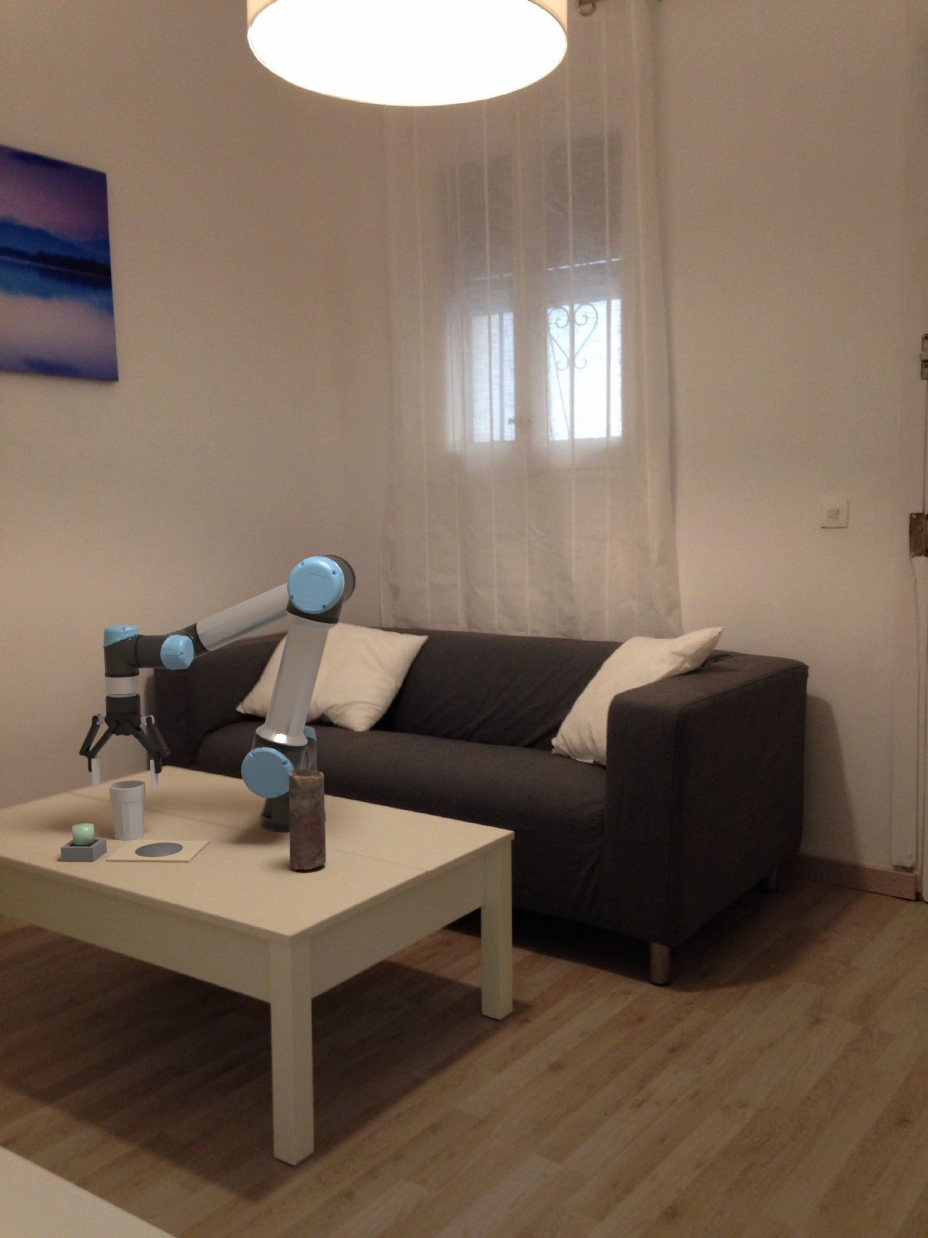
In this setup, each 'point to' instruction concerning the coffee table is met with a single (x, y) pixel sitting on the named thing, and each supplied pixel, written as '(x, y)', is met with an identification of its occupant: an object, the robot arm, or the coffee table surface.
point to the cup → (128, 809)
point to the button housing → (83, 851)
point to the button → (83, 834)
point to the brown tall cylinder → (307, 819)
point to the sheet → (158, 851)
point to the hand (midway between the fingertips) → (125, 787)
